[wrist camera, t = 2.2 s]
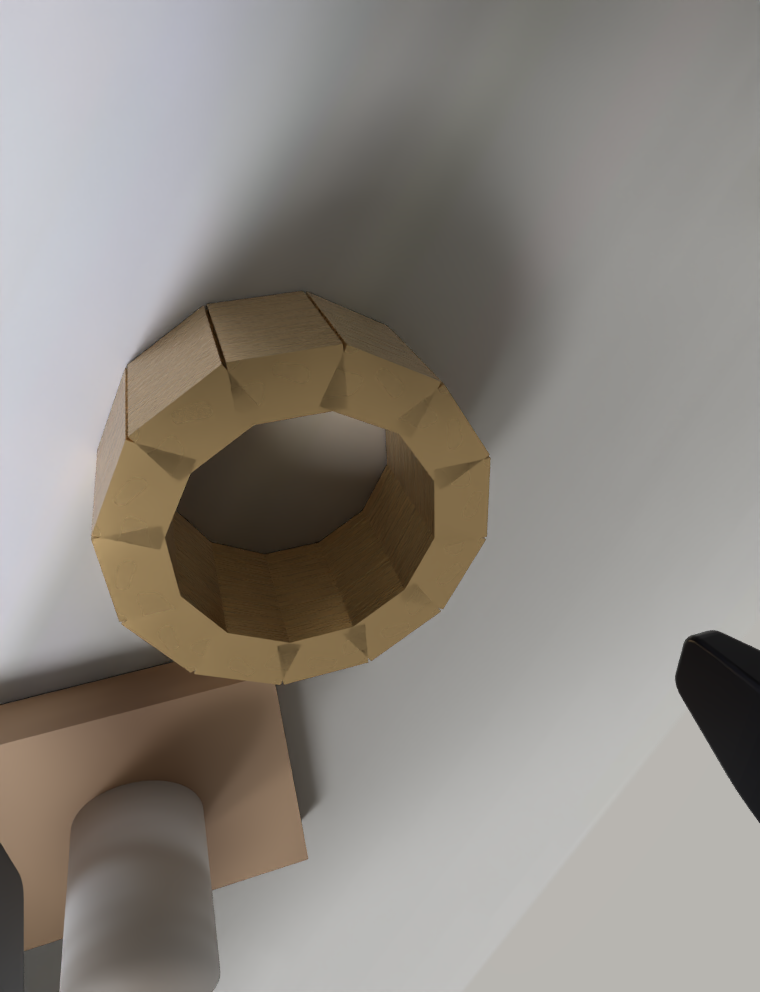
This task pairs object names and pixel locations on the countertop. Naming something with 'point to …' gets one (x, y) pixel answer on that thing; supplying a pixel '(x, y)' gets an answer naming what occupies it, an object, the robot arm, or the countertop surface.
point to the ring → (302, 570)
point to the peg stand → (143, 820)
